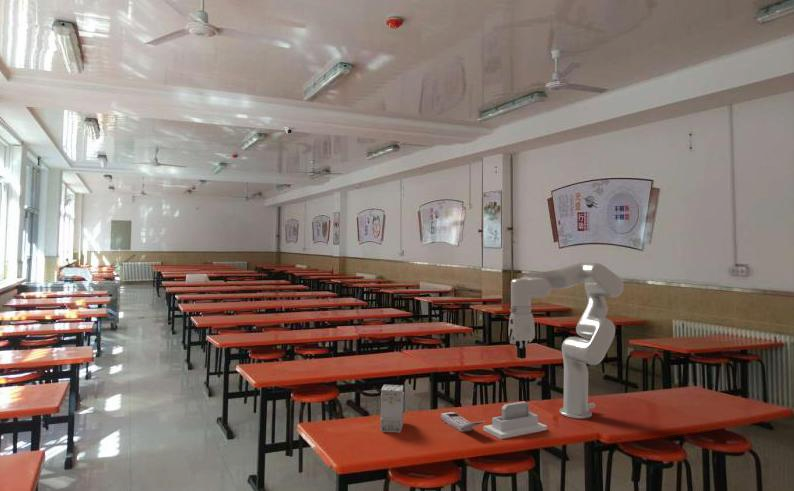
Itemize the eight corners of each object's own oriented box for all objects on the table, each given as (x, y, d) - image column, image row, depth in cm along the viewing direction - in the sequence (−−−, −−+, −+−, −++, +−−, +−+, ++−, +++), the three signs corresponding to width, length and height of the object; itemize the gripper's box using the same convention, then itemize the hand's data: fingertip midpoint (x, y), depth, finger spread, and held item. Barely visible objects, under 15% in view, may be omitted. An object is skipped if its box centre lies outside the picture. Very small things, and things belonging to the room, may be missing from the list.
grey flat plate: (501, 425, 186) (501, 404, 186) (526, 421, 192) (526, 400, 192) (504, 427, 185) (504, 405, 185) (529, 422, 190) (529, 401, 190)
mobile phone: (471, 423, 178) (437, 403, 201) (471, 440, 178) (437, 418, 201) (485, 421, 180) (450, 401, 203) (485, 438, 180) (450, 416, 203)
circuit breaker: (404, 419, 197) (404, 381, 198) (400, 432, 183) (401, 391, 184) (385, 418, 198) (385, 380, 198) (380, 431, 184) (381, 390, 184)
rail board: (528, 421, 198) (528, 409, 198) (546, 429, 189) (546, 416, 189) (483, 430, 187) (483, 416, 187) (500, 439, 178) (501, 424, 179)
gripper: (513, 312, 189) (513, 361, 189) (542, 310, 197) (542, 357, 196) (499, 310, 196) (500, 358, 196) (528, 308, 203) (528, 354, 203)
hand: (521, 357), depth 196 cm, fingers closed
